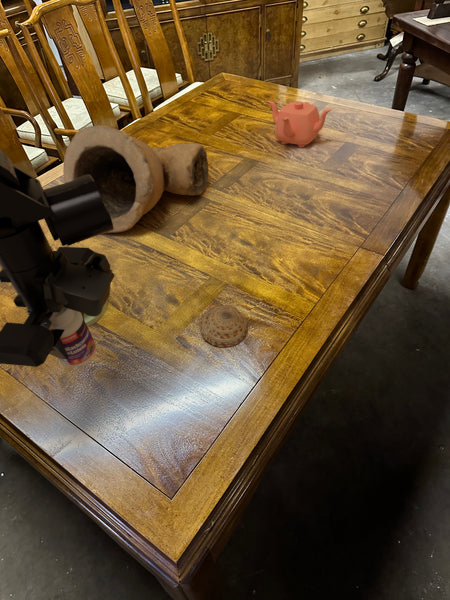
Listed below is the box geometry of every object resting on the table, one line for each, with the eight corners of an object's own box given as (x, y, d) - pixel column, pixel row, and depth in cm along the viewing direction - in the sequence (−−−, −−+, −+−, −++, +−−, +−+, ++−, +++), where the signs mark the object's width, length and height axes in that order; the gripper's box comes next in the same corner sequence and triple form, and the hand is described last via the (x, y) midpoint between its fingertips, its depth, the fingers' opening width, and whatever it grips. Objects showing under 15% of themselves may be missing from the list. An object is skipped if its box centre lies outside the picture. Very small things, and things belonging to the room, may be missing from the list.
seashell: (230, 295, 78) (248, 307, 71) (237, 321, 80) (256, 336, 73) (189, 311, 75) (204, 326, 68) (198, 338, 78) (213, 355, 71)
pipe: (214, 209, 119) (181, 240, 92) (119, 204, 124) (63, 233, 98) (212, 119, 108) (175, 126, 82) (109, 119, 114) (44, 125, 88)
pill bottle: (77, 374, 58) (51, 328, 51) (52, 358, 60) (23, 313, 54) (104, 347, 61) (83, 300, 54) (79, 333, 64) (56, 287, 57)
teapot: (329, 146, 121) (333, 107, 113) (282, 155, 119) (282, 116, 112) (311, 126, 131) (313, 89, 123) (267, 134, 129) (266, 97, 122)
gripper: (54, 321, 40) (101, 406, 51) (119, 212, 53) (145, 298, 64) (-47, 314, 42) (20, 397, 53) (39, 210, 55) (78, 294, 66)
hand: (72, 342), depth 59 cm, fingers closed on pill bottle, 5 cm apart
